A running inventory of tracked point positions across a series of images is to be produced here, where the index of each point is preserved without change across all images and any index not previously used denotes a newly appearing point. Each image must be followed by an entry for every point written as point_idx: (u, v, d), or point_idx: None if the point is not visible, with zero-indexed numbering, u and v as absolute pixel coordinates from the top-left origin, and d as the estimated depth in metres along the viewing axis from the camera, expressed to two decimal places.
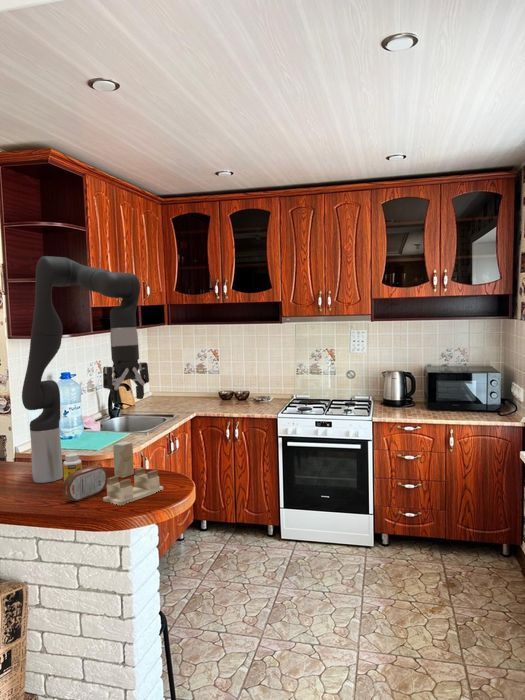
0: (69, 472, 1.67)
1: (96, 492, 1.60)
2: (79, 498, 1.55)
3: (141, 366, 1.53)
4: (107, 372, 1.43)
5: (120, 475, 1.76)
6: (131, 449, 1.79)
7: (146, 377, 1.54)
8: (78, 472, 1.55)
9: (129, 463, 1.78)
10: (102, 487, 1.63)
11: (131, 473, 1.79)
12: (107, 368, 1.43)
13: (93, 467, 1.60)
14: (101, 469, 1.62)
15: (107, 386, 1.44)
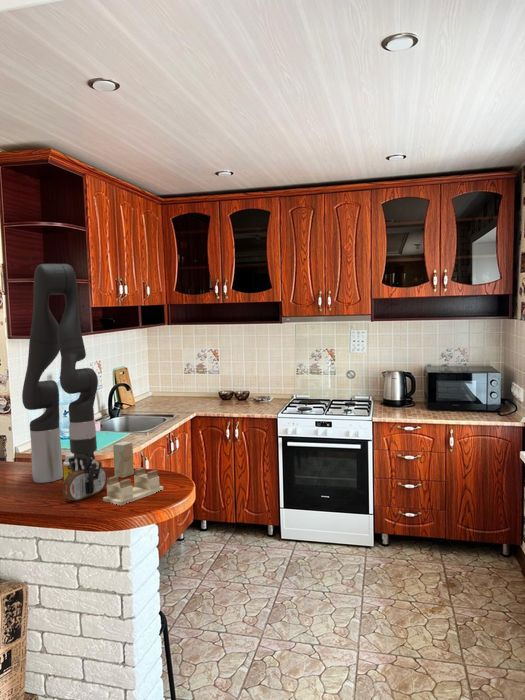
0: (69, 472, 1.67)
1: (96, 491, 1.60)
2: (79, 498, 1.55)
3: None
4: (99, 467, 1.55)
5: (120, 475, 1.76)
6: (131, 449, 1.79)
7: None
8: (78, 472, 1.55)
9: (129, 463, 1.78)
10: (102, 487, 1.62)
11: (131, 473, 1.79)
12: (99, 464, 1.54)
13: None
14: (101, 469, 1.62)
15: (96, 478, 1.56)
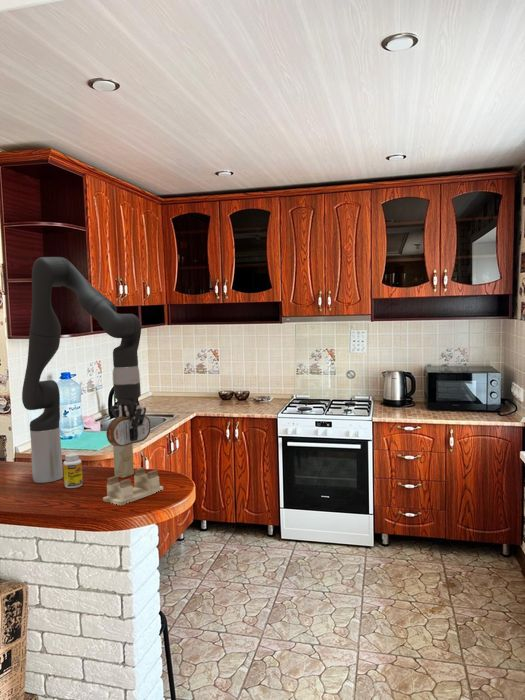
0: (69, 472, 1.67)
1: (140, 439, 1.58)
2: (123, 444, 1.53)
3: None
4: (144, 413, 1.53)
5: (120, 475, 1.76)
6: (131, 449, 1.79)
7: None
8: (122, 418, 1.54)
9: (129, 463, 1.78)
10: (146, 435, 1.60)
11: (131, 473, 1.79)
12: (144, 410, 1.53)
13: None
14: (144, 417, 1.59)
15: (140, 424, 1.54)
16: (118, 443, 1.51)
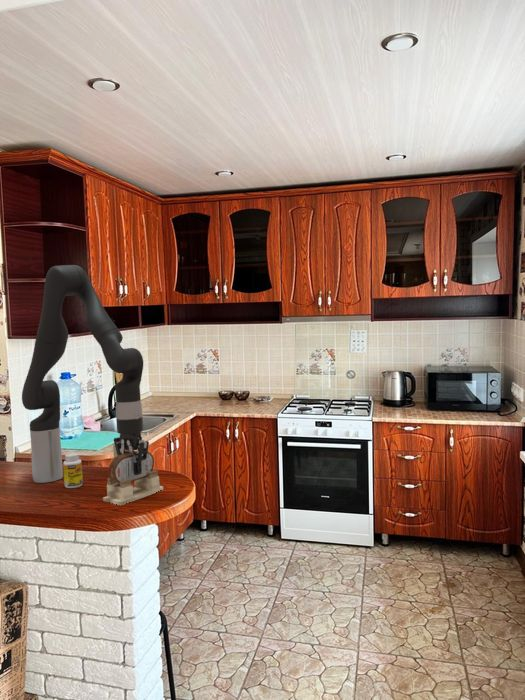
0: (69, 472, 1.66)
1: (143, 476, 1.59)
2: None
3: None
4: (147, 446, 1.53)
5: None
6: None
7: None
8: (124, 455, 1.54)
9: None
10: None
11: None
12: (147, 443, 1.53)
13: None
14: (148, 453, 1.60)
15: (144, 458, 1.54)
16: None
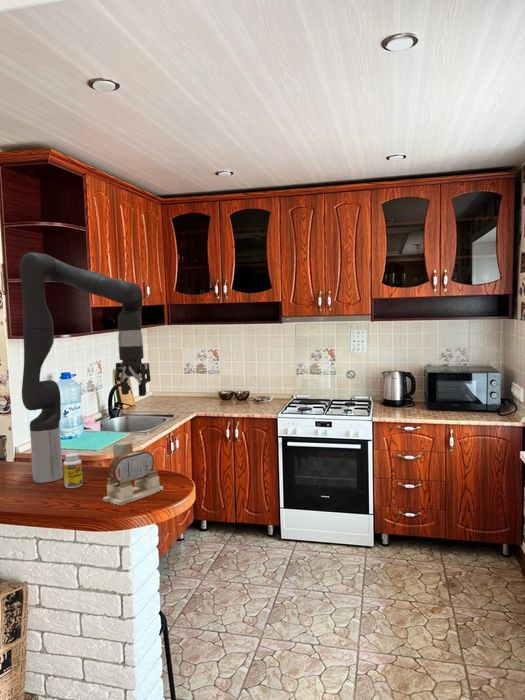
0: (69, 472, 1.67)
1: (143, 476, 1.59)
2: None
3: None
4: (148, 367, 1.66)
5: None
6: (131, 449, 1.79)
7: None
8: (124, 455, 1.54)
9: None
10: None
11: None
12: (147, 364, 1.66)
13: (140, 451, 1.59)
14: (148, 453, 1.60)
15: (148, 379, 1.66)
16: None
